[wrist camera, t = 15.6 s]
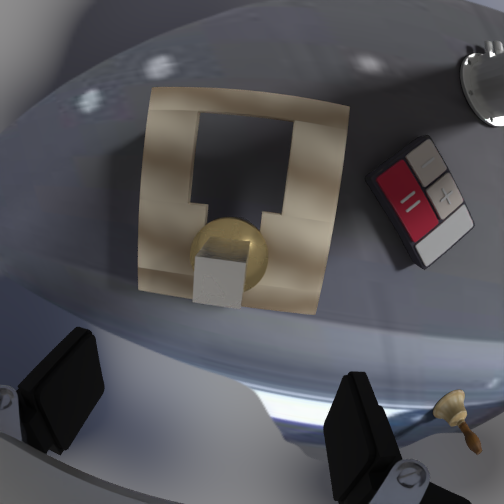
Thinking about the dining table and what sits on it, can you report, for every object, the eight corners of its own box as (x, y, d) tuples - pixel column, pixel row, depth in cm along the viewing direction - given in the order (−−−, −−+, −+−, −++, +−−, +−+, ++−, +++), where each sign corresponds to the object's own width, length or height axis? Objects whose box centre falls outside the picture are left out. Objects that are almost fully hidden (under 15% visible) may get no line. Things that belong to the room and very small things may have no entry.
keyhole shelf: (185, 108, 35) (152, 87, 23) (324, 124, 35) (349, 106, 23) (171, 256, 41) (138, 289, 29) (302, 273, 40) (315, 314, 29)
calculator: (431, 132, 31) (478, 226, 33) (417, 136, 35) (463, 222, 37) (371, 177, 33) (426, 272, 35) (361, 177, 37) (413, 264, 40)
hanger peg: (212, 201, 35) (172, 228, 20) (271, 208, 35) (275, 241, 20) (207, 257, 37) (169, 318, 22) (263, 264, 37) (261, 332, 22)
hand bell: (449, 387, 46) (483, 439, 31) (470, 391, 46) (502, 438, 31) (425, 415, 48) (452, 468, 33) (447, 418, 49) (474, 466, 33)
